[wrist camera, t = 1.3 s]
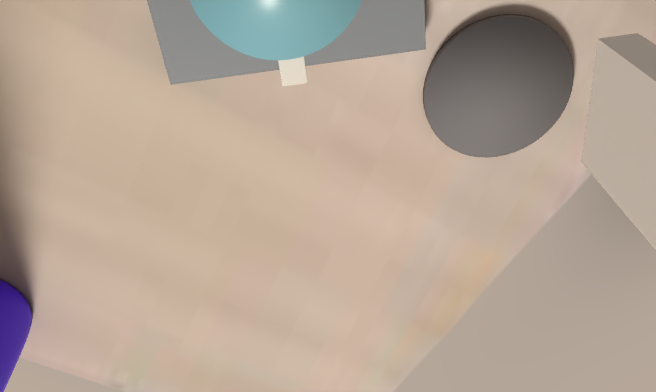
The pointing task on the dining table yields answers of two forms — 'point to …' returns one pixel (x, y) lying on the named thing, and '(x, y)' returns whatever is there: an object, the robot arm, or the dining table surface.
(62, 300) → the dining table surface
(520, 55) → the mat
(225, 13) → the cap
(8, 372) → the bottle
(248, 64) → the stand
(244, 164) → the dining table surface
